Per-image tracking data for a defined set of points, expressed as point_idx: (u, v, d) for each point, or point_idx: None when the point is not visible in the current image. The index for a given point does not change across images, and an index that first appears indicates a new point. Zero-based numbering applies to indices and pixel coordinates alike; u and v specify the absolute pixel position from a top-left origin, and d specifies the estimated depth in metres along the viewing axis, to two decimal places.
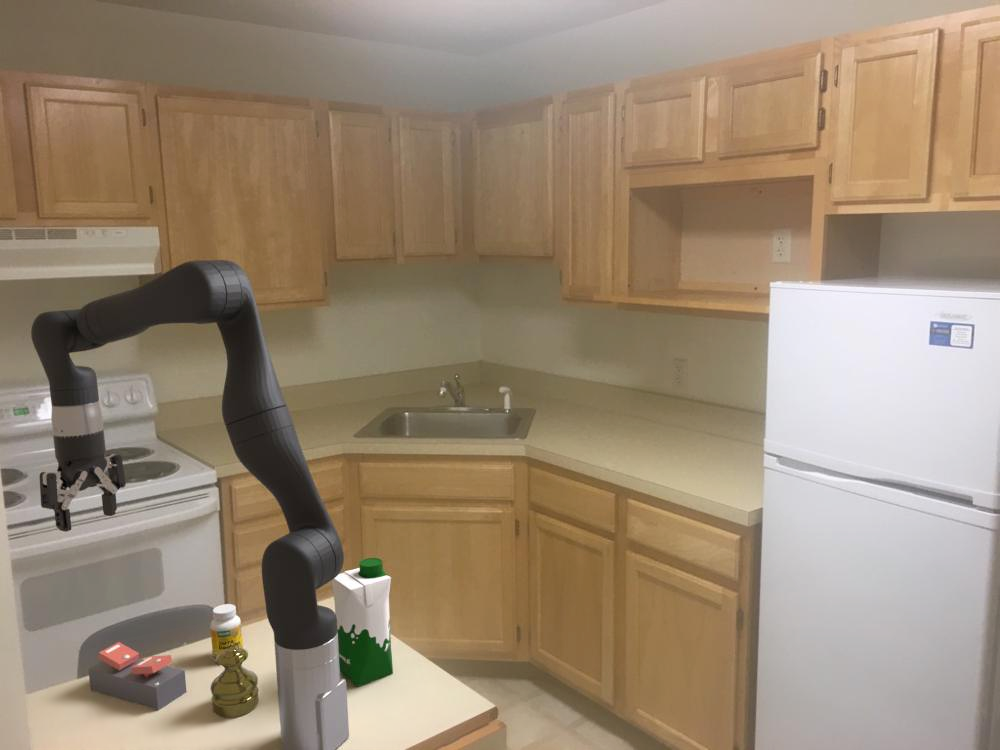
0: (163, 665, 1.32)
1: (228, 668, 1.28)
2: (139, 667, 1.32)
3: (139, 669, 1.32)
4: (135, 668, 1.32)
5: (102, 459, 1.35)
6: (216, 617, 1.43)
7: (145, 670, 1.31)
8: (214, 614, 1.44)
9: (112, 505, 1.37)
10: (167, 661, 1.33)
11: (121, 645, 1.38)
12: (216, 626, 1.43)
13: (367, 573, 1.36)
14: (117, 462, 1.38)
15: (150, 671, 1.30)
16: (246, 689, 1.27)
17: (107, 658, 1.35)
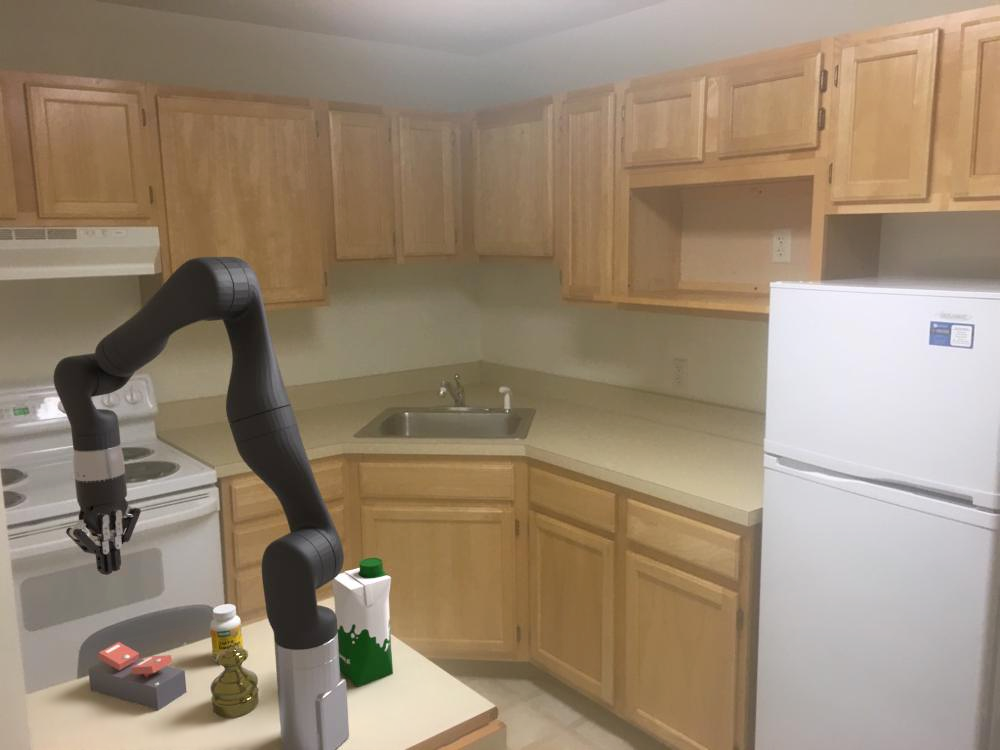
0: (163, 665, 1.32)
1: (228, 668, 1.28)
2: (139, 667, 1.32)
3: (139, 669, 1.32)
4: (135, 668, 1.32)
5: (125, 502, 1.35)
6: (216, 617, 1.43)
7: (145, 670, 1.31)
8: (214, 614, 1.44)
9: (116, 560, 1.34)
10: (167, 661, 1.33)
11: (121, 645, 1.38)
12: (216, 626, 1.43)
13: (367, 573, 1.36)
14: (134, 514, 1.37)
15: (150, 671, 1.30)
16: (246, 689, 1.27)
17: (107, 658, 1.35)
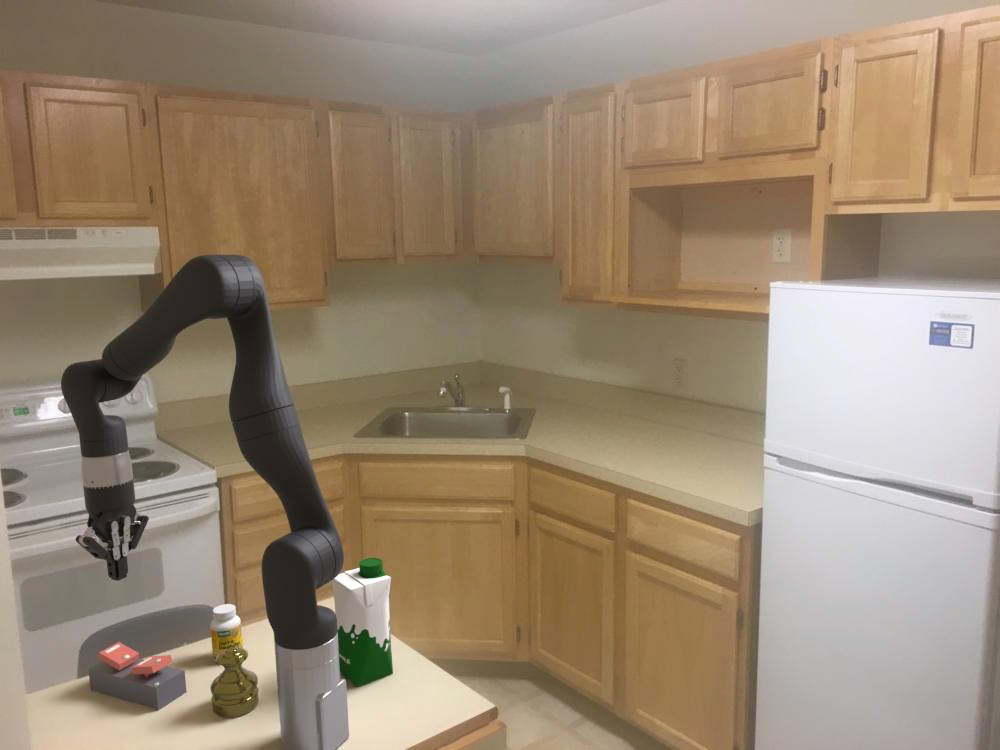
0: (163, 665, 1.32)
1: (228, 668, 1.28)
2: (139, 667, 1.32)
3: (139, 669, 1.32)
4: (135, 668, 1.32)
5: (134, 508, 1.34)
6: (216, 617, 1.43)
7: (145, 670, 1.31)
8: (214, 614, 1.44)
9: (123, 568, 1.33)
10: (167, 661, 1.33)
11: (121, 645, 1.38)
12: (216, 626, 1.43)
13: (367, 573, 1.36)
14: (142, 521, 1.36)
15: (150, 671, 1.30)
16: (246, 689, 1.27)
17: (107, 658, 1.35)
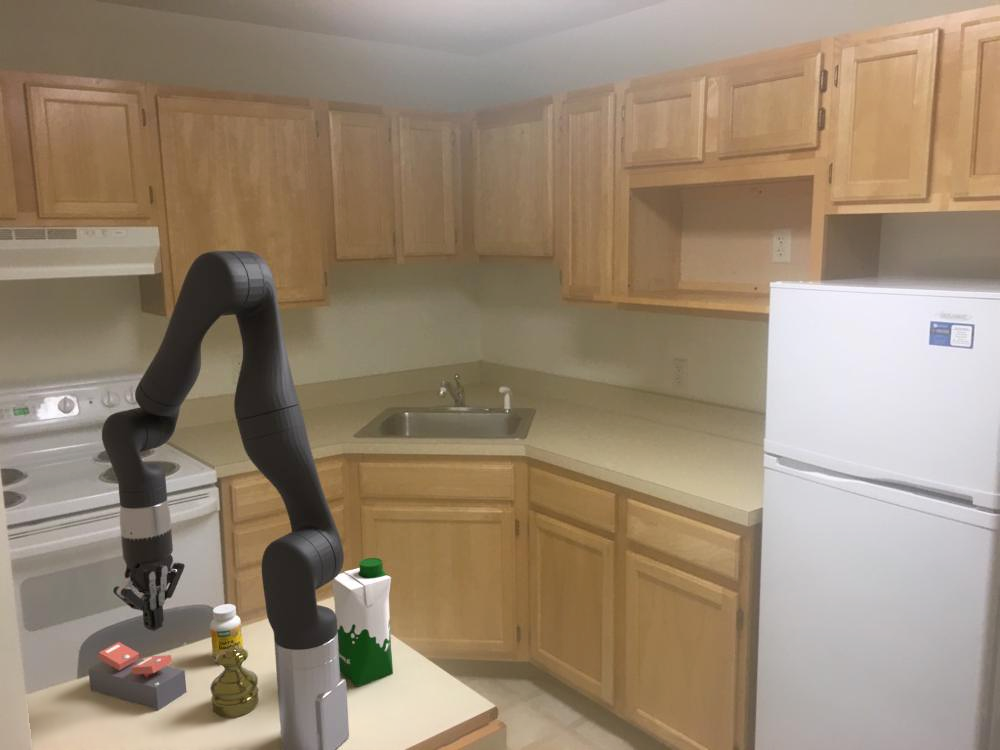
0: (163, 665, 1.32)
1: (228, 668, 1.28)
2: (139, 667, 1.32)
3: (139, 669, 1.32)
4: (135, 668, 1.32)
5: (171, 557, 1.32)
6: (216, 617, 1.43)
7: (145, 670, 1.31)
8: (214, 614, 1.44)
9: (159, 618, 1.31)
10: (167, 661, 1.33)
11: (121, 645, 1.38)
12: (216, 626, 1.43)
13: (367, 573, 1.36)
14: (178, 570, 1.34)
15: (150, 671, 1.30)
16: (246, 689, 1.27)
17: (107, 658, 1.35)
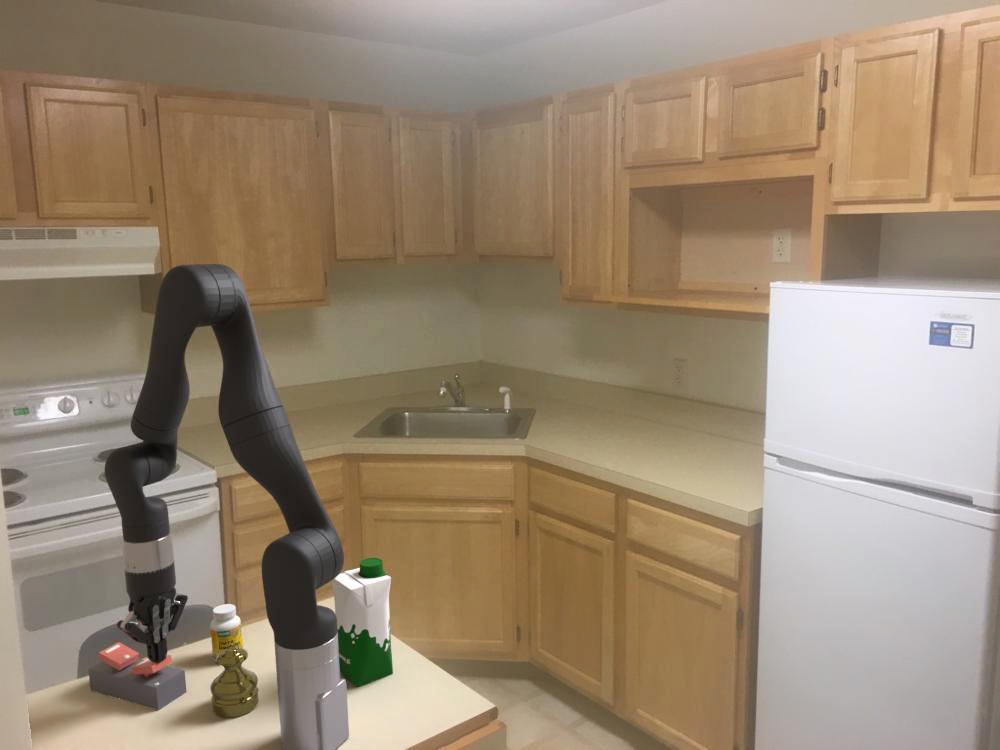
0: (163, 665, 1.32)
1: (228, 668, 1.28)
2: (139, 667, 1.32)
3: (139, 669, 1.32)
4: (135, 668, 1.32)
5: (174, 589, 1.33)
6: (216, 617, 1.43)
7: (145, 670, 1.31)
8: (214, 614, 1.44)
9: (163, 650, 1.32)
10: (167, 661, 1.33)
11: (121, 645, 1.38)
12: (216, 626, 1.43)
13: (367, 573, 1.36)
14: (182, 601, 1.35)
15: (150, 671, 1.30)
16: (246, 689, 1.27)
17: (107, 658, 1.35)
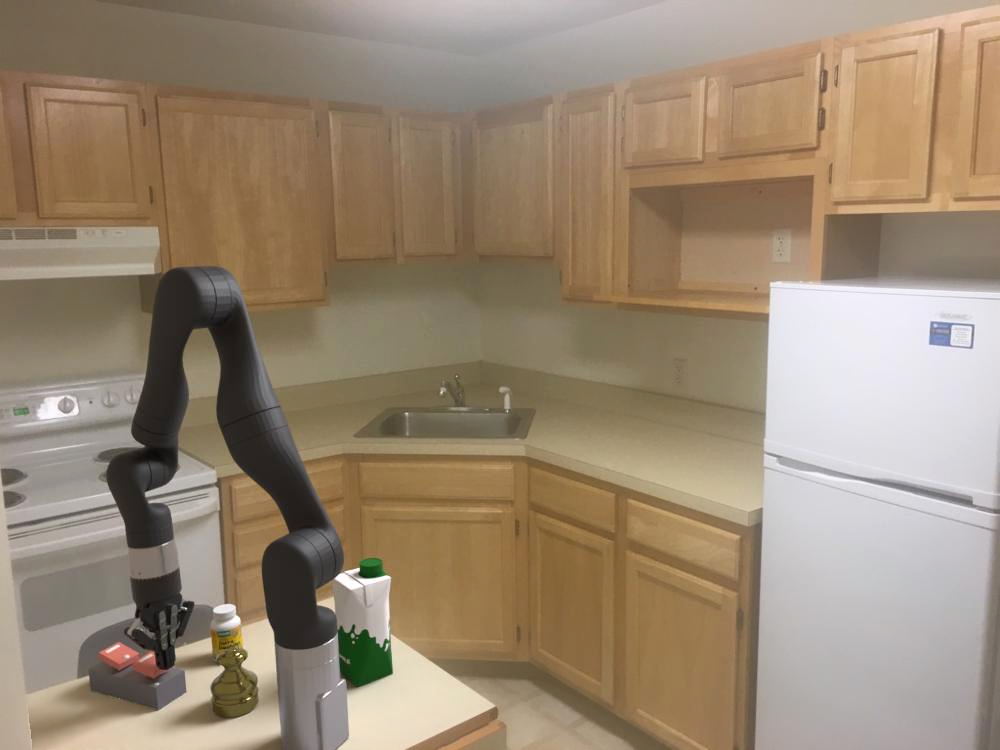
0: (164, 670, 1.32)
1: (228, 668, 1.28)
2: (140, 666, 1.31)
3: (140, 668, 1.31)
4: (136, 665, 1.32)
5: (180, 595, 1.33)
6: (216, 617, 1.43)
7: (146, 672, 1.31)
8: (214, 614, 1.44)
9: (171, 657, 1.31)
10: None
11: (121, 645, 1.38)
12: (216, 626, 1.43)
13: (367, 573, 1.36)
14: (188, 607, 1.34)
15: (151, 675, 1.31)
16: (246, 689, 1.27)
17: (107, 658, 1.35)
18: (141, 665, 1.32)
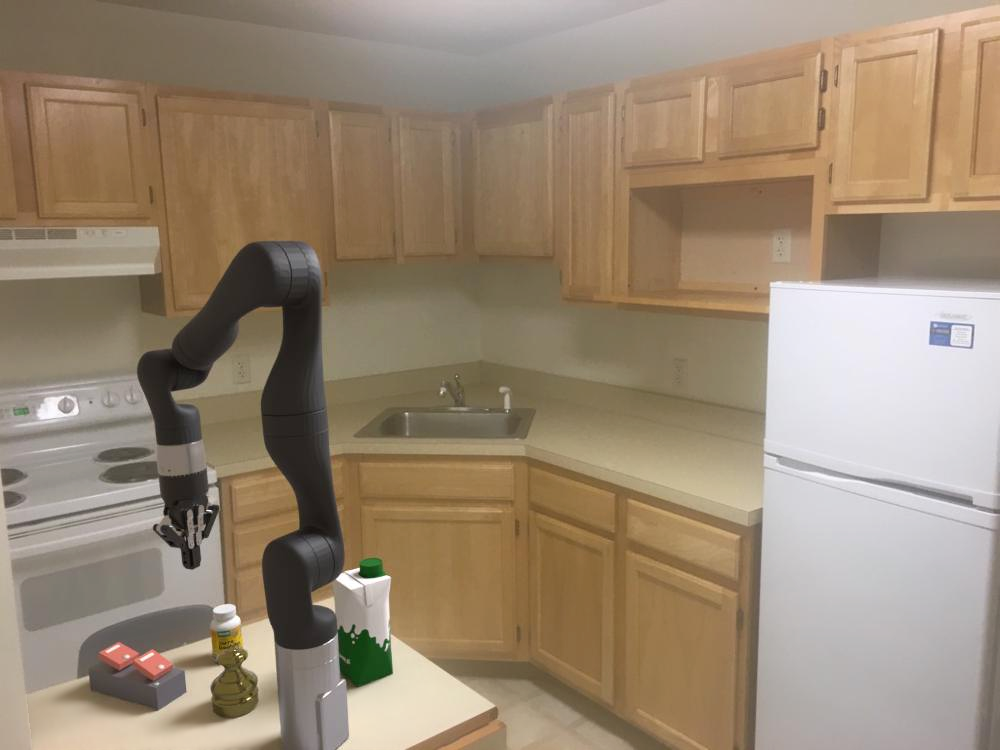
0: (164, 673, 1.32)
1: (228, 668, 1.28)
2: (141, 666, 1.31)
3: (141, 668, 1.31)
4: (137, 664, 1.32)
5: (206, 497, 1.35)
6: (216, 617, 1.43)
7: (146, 673, 1.31)
8: (214, 614, 1.44)
9: (197, 557, 1.33)
10: (168, 669, 1.33)
11: (121, 645, 1.38)
12: (216, 626, 1.43)
13: (367, 573, 1.36)
14: (214, 511, 1.36)
15: (151, 677, 1.31)
16: (246, 689, 1.27)
17: (107, 658, 1.35)
18: (142, 665, 1.31)
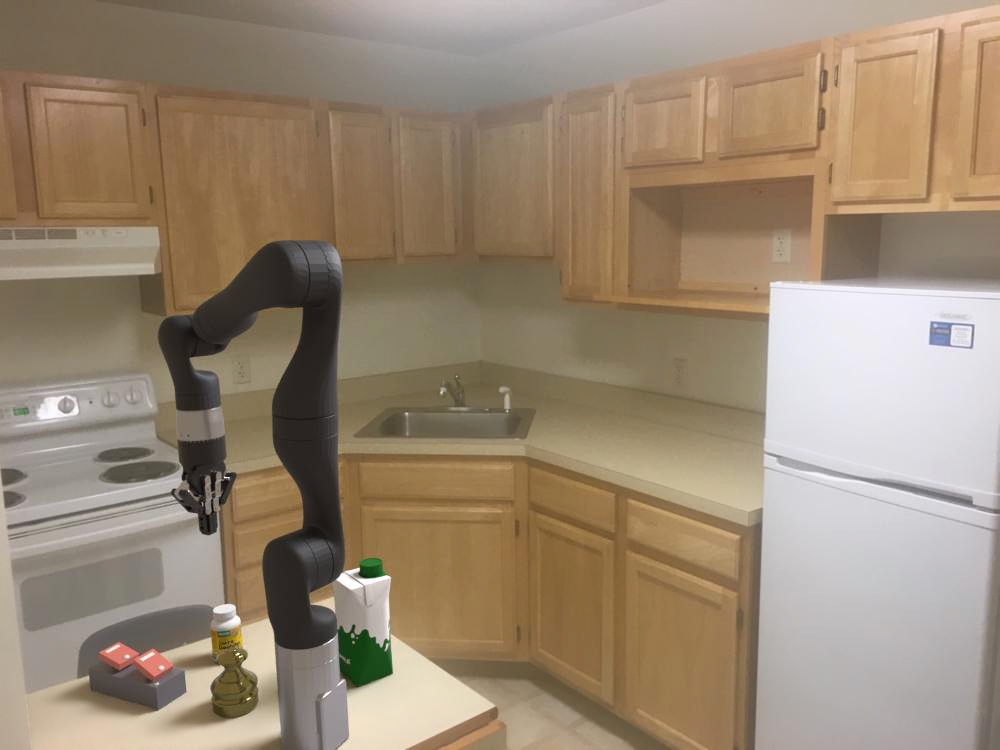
0: (163, 674, 1.32)
1: (228, 668, 1.28)
2: (142, 666, 1.31)
3: (141, 668, 1.31)
4: (137, 663, 1.32)
5: (224, 464, 1.35)
6: (216, 617, 1.43)
7: (146, 673, 1.31)
8: (214, 614, 1.44)
9: (214, 523, 1.34)
10: (168, 670, 1.33)
11: (121, 645, 1.38)
12: (216, 626, 1.43)
13: (367, 573, 1.36)
14: (231, 478, 1.37)
15: (151, 678, 1.31)
16: (246, 689, 1.27)
17: (107, 658, 1.35)
18: (142, 665, 1.31)
